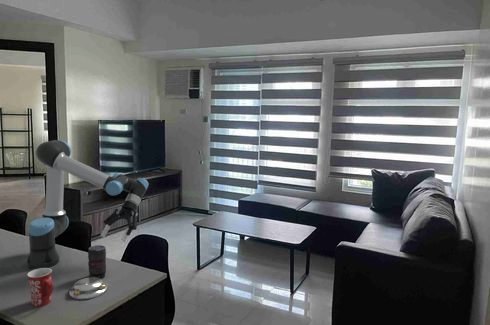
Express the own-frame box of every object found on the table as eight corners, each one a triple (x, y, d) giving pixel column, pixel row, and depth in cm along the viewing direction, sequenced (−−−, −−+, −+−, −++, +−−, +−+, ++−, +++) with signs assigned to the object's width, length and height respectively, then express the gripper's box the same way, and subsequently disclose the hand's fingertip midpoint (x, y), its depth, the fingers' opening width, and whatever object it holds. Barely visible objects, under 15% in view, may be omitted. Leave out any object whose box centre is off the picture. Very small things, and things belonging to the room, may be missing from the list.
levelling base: (78, 282, 171) (78, 275, 171) (112, 282, 172) (112, 275, 171) (62, 299, 155) (62, 291, 155) (100, 299, 156) (99, 292, 156)
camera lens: (100, 281, 173) (99, 251, 171) (85, 279, 174) (84, 250, 172) (109, 274, 181) (109, 245, 178) (95, 272, 182) (94, 244, 180)
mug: (25, 303, 152) (23, 273, 150) (46, 294, 159) (45, 265, 157) (39, 313, 145) (38, 281, 143) (61, 303, 152) (60, 273, 150)
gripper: (153, 210, 195) (135, 245, 183) (116, 204, 204) (97, 238, 192) (147, 202, 189) (128, 238, 178) (109, 197, 199) (89, 231, 187)
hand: (112, 238), depth 185 cm, fingers open, 13 cm apart
